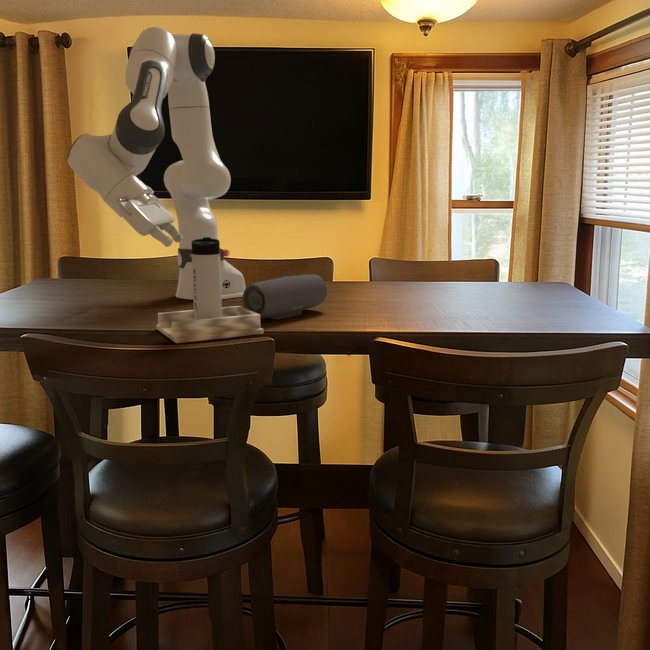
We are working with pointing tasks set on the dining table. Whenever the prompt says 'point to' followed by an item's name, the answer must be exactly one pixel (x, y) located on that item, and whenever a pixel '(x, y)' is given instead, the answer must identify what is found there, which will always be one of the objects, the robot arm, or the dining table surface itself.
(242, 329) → the tray
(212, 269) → the travel mug
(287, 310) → the bluetooth speaker
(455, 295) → the dining table surface
